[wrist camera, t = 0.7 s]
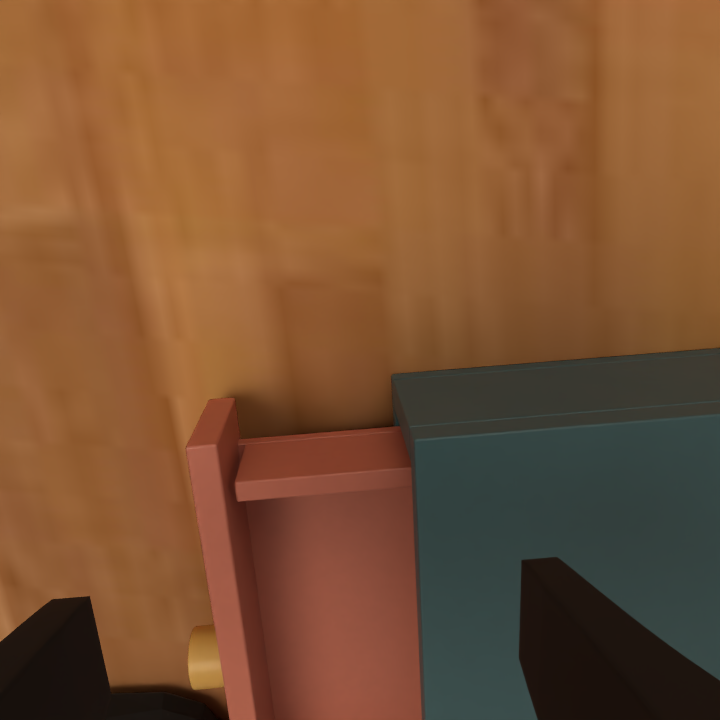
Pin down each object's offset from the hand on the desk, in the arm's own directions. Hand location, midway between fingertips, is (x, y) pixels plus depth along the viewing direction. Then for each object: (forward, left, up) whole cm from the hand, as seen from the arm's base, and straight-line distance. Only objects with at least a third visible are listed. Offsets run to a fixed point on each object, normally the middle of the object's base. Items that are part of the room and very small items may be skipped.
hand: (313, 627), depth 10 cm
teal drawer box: (-7, -8, -10) cm, 14 cm away
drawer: (-7, -2, -9) cm, 11 cm away
